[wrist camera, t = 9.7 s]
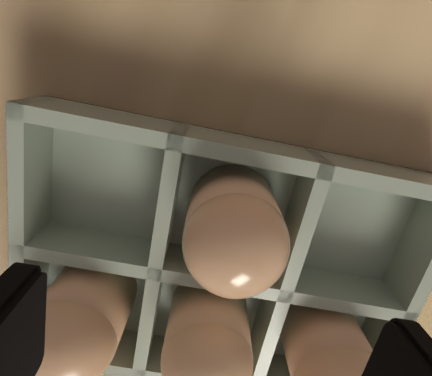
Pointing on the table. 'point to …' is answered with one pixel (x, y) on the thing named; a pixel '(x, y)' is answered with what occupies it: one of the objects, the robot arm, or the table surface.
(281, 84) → the table surface
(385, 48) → the table surface
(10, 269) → the robot arm
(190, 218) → the egg
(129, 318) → the carton
